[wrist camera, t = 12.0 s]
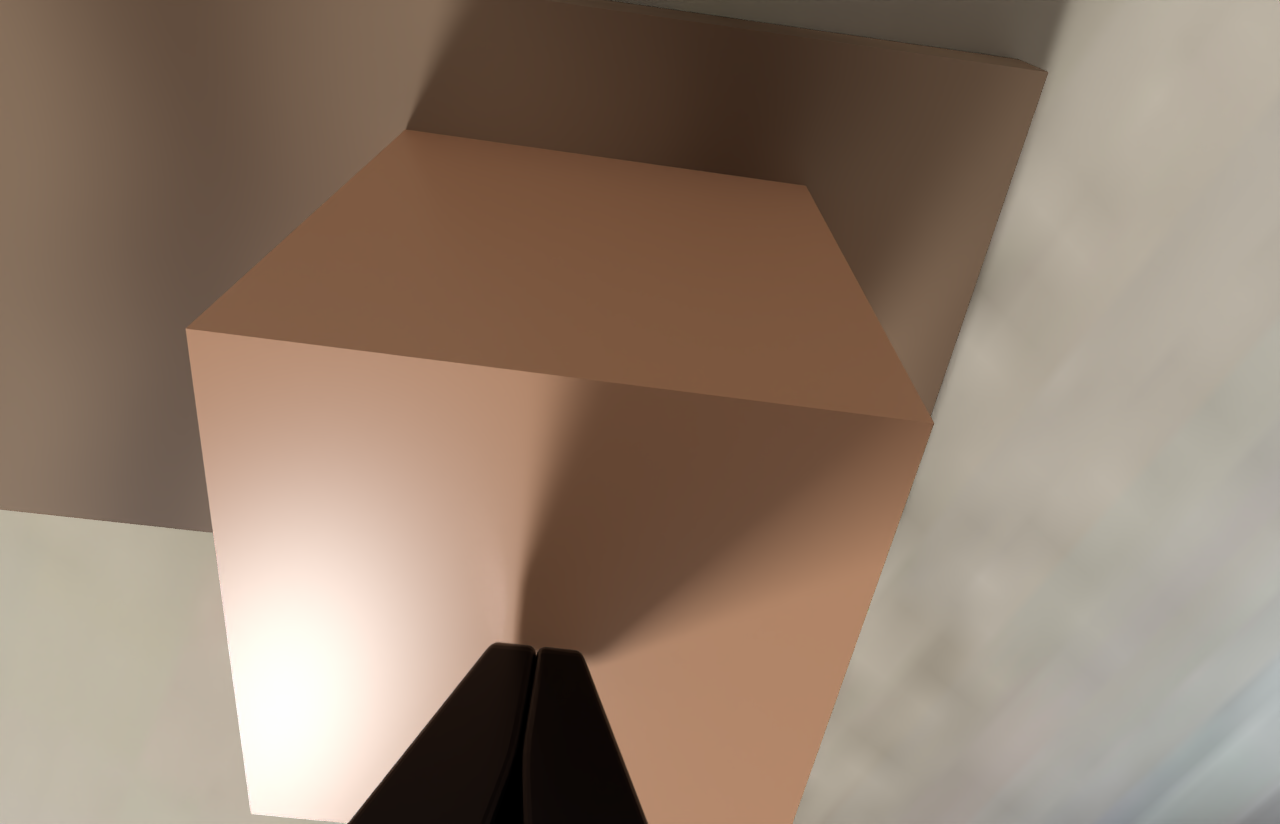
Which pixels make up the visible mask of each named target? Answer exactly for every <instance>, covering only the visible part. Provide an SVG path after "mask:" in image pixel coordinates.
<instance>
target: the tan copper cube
mask: <svg viewBox="0 0 1280 824" xmlns="http://www.w3.org/2000/svg"><path fill="white" fill-rule="evenodd" d="M186 336H187V343H188V351H189V358H190V366H191V373H192V381H193V388H194V395H195V403H196V410H197V418H198V425H199V432H200V440H201V447H202V455H203V462H204V470H205V477H206V484H207V492H208V499H209V507H210V514H211V521H212V529H213V536H214V544H215V551H216V559H217V566H218V573H219V581H220V588H221V596H222V603H223V610H224V618H225V625H226V633H227V640H228V648H229V655H230V662H231V670H232V677H233V685H234V692H235V699H236V707H237V714H238V722H239V729H240V737H241V744H242V751H243V759H244V766H245V774H246V781H247V789H248V796H249V803H250V811H251V814H258V815H269V816H279V817H289V818H300V819H310V820H320V821H331V822H341V823H348V822H349V821H350V820H351V818H352V817H353V816H354V815H355V813H356V812H357V811H358V810H359V808H360V807H361V806H362V805H363V803H364V802H365V801H366V800H367V798H368V797H369V796H370V795H371V793H372V792H373V791H374V790H375V788H376V787H377V786H378V785H379V783H380V782H381V781H382V780H383V778H384V777H385V776H386V774H387V773H388V772H389V771H390V769H391V768H392V767H393V766H394V764H395V763H396V762H397V761H398V759H399V758H400V757H401V756H402V754H403V753H404V752H405V751H406V749H407V748H408V747H409V746H410V744H411V743H412V742H413V741H414V739H415V738H416V737H417V736H418V734H419V733H420V732H421V731H422V729H423V728H424V727H425V726H426V724H427V723H428V722H429V721H430V719H431V718H432V717H433V716H434V714H435V713H436V712H437V710H438V709H439V708H440V707H441V705H442V704H443V703H444V702H445V700H446V699H447V698H448V697H449V695H450V694H451V693H452V692H453V690H454V689H455V688H456V687H457V685H458V684H459V683H460V682H461V680H462V679H463V678H464V677H465V675H466V674H467V673H468V672H469V670H470V669H471V668H472V667H473V665H474V664H475V663H476V662H477V660H478V659H479V658H480V657H481V655H482V654H483V653H484V651H485V650H486V649H487V648H488V647H489V646H490V645H491V644H493V643H496V642H502V643H512V644H522V645H530V646H532V647H533V648H534V649H535V651H536V654H537V652H538V650H539V649H540V648H542V647H551V648H561V649H571V650H577V651H579V652H581V653H582V655H583V656H584V658H585V660H586V663H587V666H588V668H589V671H590V673H591V676H592V679H593V681H594V684H595V686H596V689H597V692H598V694H599V697H600V699H601V702H602V705H603V707H604V710H605V712H606V715H607V718H608V720H609V723H610V725H611V728H612V731H613V733H614V736H615V738H616V741H617V744H618V746H619V749H620V751H621V754H622V757H623V759H624V762H625V764H626V767H627V770H628V772H629V775H630V777H631V780H632V783H633V785H634V788H635V790H636V793H637V796H638V798H639V801H640V803H641V806H642V808H643V811H644V814H645V816H646V819H647V821H648V824H792V823H793V820H794V818H795V815H796V812H797V809H798V806H799V804H800V801H801V798H802V795H803V792H804V789H805V787H806V784H807V781H808V778H809V775H810V772H811V770H812V767H813V764H814V761H815V758H816V755H817V753H818V750H819V747H820V744H821V741H822V739H823V736H824V733H825V730H826V727H827V724H828V722H829V719H830V716H831V713H832V710H833V707H834V705H835V702H836V699H837V696H838V693H839V690H840V688H841V685H842V682H843V679H844V676H845V674H846V671H847V668H848V665H849V662H850V659H851V657H852V654H853V651H854V648H855V645H856V642H857V640H858V637H859V634H860V631H861V628H862V625H863V623H864V620H865V617H866V614H867V611H868V609H869V606H870V603H871V600H872V597H873V594H874V592H875V589H876V586H877V583H878V580H879V577H880V575H881V572H882V569H883V566H884V563H885V560H886V558H887V555H888V552H889V549H890V546H891V544H892V541H893V538H894V535H895V532H896V529H897V527H898V524H899V521H900V518H901V515H902V512H903V510H904V507H905V504H906V501H907V498H908V495H909V493H910V490H911V487H912V484H913V481H914V479H915V476H916V473H917V470H918V467H919V464H920V462H921V459H922V456H923V453H924V450H925V447H926V445H927V442H928V439H929V436H930V433H931V430H932V428H933V425H934V422H933V420H932V418H931V417H930V415H929V413H928V411H927V409H926V407H925V405H924V404H923V402H922V400H921V398H920V396H919V394H918V393H917V391H916V389H915V387H914V385H913V383H912V381H911V380H910V378H909V376H908V374H907V372H906V370H905V368H904V367H903V365H902V363H901V361H900V359H899V357H898V355H897V354H896V352H895V350H894V348H893V346H892V344H891V342H890V341H889V339H888V337H887V335H886V333H885V331H884V330H883V328H882V326H881V324H880V322H879V320H878V318H877V317H876V315H875V313H874V311H873V309H872V307H871V305H870V304H869V302H868V300H867V298H866V296H865V294H864V292H863V291H862V289H861V287H860V285H859V283H858V281H857V279H856V278H855V276H854V274H853V272H852V270H851V268H850V267H849V265H848V263H847V261H846V259H845V257H844V255H843V254H842V252H841V250H840V248H839V246H838V244H837V242H836V241H835V239H834V237H833V235H832V233H831V231H830V229H829V228H828V226H827V224H826V222H825V220H824V218H823V216H822V215H821V213H820V211H819V209H818V207H817V205H816V204H815V202H814V200H813V198H812V196H811V194H810V192H809V191H808V189H807V187H806V186H804V185H797V184H790V183H783V182H776V181H768V180H761V179H754V178H747V177H740V176H733V175H726V174H719V173H712V172H705V171H697V170H690V169H683V168H676V167H669V166H662V165H655V164H648V163H641V162H633V161H626V160H619V159H612V158H605V157H598V156H591V155H584V154H577V153H570V152H562V151H555V150H548V149H541V148H534V147H527V146H520V145H513V144H506V143H498V142H491V141H484V140H477V139H470V138H463V137H456V136H449V135H442V134H435V133H427V132H420V131H413V130H406V129H405V130H404V131H403V132H402V133H401V134H400V135H399V136H398V137H396V138H395V139H394V140H393V141H392V142H391V143H390V144H389V145H388V146H386V147H385V148H384V149H383V150H382V151H381V152H380V153H379V154H378V155H377V156H375V157H374V158H373V159H372V160H371V161H370V162H369V163H368V164H367V165H366V166H364V167H363V168H362V169H361V170H360V171H359V172H358V173H357V174H356V175H354V176H353V177H352V178H351V179H350V180H349V181H348V182H347V183H346V184H345V185H343V186H342V187H341V188H340V189H339V190H338V191H337V192H336V193H335V194H333V195H332V196H331V197H330V198H329V199H328V200H327V201H326V202H325V203H324V204H322V205H321V206H320V207H319V208H318V209H317V210H316V211H315V212H314V213H313V214H311V215H310V216H309V217H308V218H307V219H306V220H305V221H304V222H303V223H301V224H300V225H299V226H298V227H297V228H296V229H295V230H294V231H293V232H292V233H290V234H289V235H288V236H287V237H286V238H285V239H284V240H283V241H282V242H280V243H279V244H278V245H277V246H276V247H275V248H274V249H273V250H272V251H271V252H269V253H268V254H267V255H266V256H265V257H264V258H263V259H262V260H261V261H260V262H258V263H257V264H256V265H255V266H254V267H253V268H252V269H251V270H250V271H248V272H247V273H246V274H245V275H244V276H243V277H242V278H241V279H240V280H239V281H237V282H236V283H235V284H234V285H233V286H232V287H231V288H230V289H229V290H228V291H226V292H225V293H224V294H223V295H222V296H221V297H220V298H219V299H218V300H216V301H215V302H214V303H213V304H212V305H211V306H210V307H209V308H208V309H207V310H205V311H204V312H203V313H202V314H201V315H200V316H199V317H198V318H197V319H195V320H194V321H193V322H192V323H191V324H190V325H189V326H188V327H187V328H186Z"/></svg>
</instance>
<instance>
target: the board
mask: <svg viewBox="0 0 1280 824" xmlns="http://www.w3.org/2000/svg"><path fill="white" fill-rule="evenodd" d="M1047 75H1048V72H1047V71H1044V70H1042V69H1040V68H1037V67H1035V66H1033V65H1030V64H1028V63H1026V62H1023V61H1021V60H1019V59H1013V58H1006V57H999V56H992V55H985V54H978V53H971V52H964V51H957V50H950V49H943V48H936V47H929V46H923V45H916V44H909V43H902V42H895V41H888V40H881V39H874V38H867V37H860V36H853V35H846V34H839V33H832V32H825V31H818V30H811V29H804V28H797V27H790V26H783V25H776V24H769V23H762V22H755V21H748V20H741V19H734V18H727V17H720V16H713V15H706V14H700V13H693V12H686V11H679V10H672V9H665V8H658V7H651V6H644V5H637V4H630V3H623V2H616V1H609V0H0V509H1V510H10V511H19V512H28V513H37V514H47V515H56V516H65V517H74V518H83V519H93V520H102V521H111V522H120V523H129V524H138V525H148V526H157V527H166V528H175V529H184V530H193V531H203V532H212V533H213V529H212V521H211V514H210V507H209V499H208V492H207V484H206V477H205V470H204V462H203V455H202V447H201V440H200V432H199V425H198V418H197V410H196V403H195V395H194V388H193V381H192V373H191V366H190V358H189V351H188V343H187V336H186V328H187V327H188V326H189V325H190V324H191V323H192V322H193V321H194V320H195V319H197V318H198V317H199V316H200V315H201V314H202V313H203V312H204V311H205V310H207V309H208V308H209V307H210V306H211V305H212V304H213V303H214V302H215V301H216V300H218V299H219V298H220V297H221V296H222V295H223V294H224V293H225V292H226V291H228V290H229V289H230V288H231V287H232V286H233V285H234V284H235V283H236V282H237V281H239V280H240V279H241V278H242V277H243V276H244V275H245V274H246V273H247V272H248V271H250V270H251V269H252V268H253V267H254V266H255V265H256V264H257V263H258V262H260V261H261V260H262V259H263V258H264V257H265V256H266V255H267V254H268V253H269V252H271V251H272V250H273V249H274V248H275V247H276V246H277V245H278V244H279V243H280V242H282V241H283V240H284V239H285V238H286V237H287V236H288V235H289V234H290V233H292V232H293V231H294V230H295V229H296V228H297V227H298V226H299V225H300V224H301V223H303V222H304V221H305V220H306V219H307V218H308V217H309V216H310V215H311V214H313V213H314V212H315V211H316V210H317V209H318V208H319V207H320V206H321V205H322V204H324V203H325V202H326V201H327V200H328V199H329V198H330V197H331V196H332V195H333V194H335V193H336V192H337V191H338V190H339V189H340V188H341V187H342V186H343V185H345V184H346V183H347V182H348V181H349V180H350V179H351V178H352V177H353V176H354V175H356V174H357V173H358V172H359V171H360V170H361V169H362V168H363V167H364V166H366V165H367V164H368V163H369V162H370V161H371V160H372V159H373V158H374V157H375V156H377V155H378V154H379V153H380V152H381V151H382V150H383V149H384V148H385V147H386V146H388V145H389V144H390V143H391V142H392V141H393V140H394V139H395V138H396V137H398V136H399V135H400V134H401V133H402V132H403V131H404V130H405V129H406V130H413V131H420V132H427V133H435V134H442V135H449V136H456V137H463V138H470V139H477V140H484V141H491V142H498V143H506V144H513V145H520V146H527V147H534V148H541V149H548V150H555V151H562V152H570V153H577V154H584V155H591V156H598V157H605V158H612V159H619V160H626V161H633V162H641V163H648V164H655V165H662V166H669V167H676V168H683V169H690V170H697V171H705V172H712V173H719V174H726V175H733V176H740V177H747V178H754V179H761V180H768V181H776V182H783V183H790V184H797V185H804V186H806V187H807V189H808V191H809V192H810V194H811V196H812V198H813V200H814V202H815V204H816V205H817V207H818V209H819V211H820V213H821V215H822V216H823V218H824V220H825V222H826V224H827V226H828V228H829V229H830V231H831V233H832V235H833V237H834V239H835V241H836V242H837V244H838V246H839V248H840V250H841V252H842V254H843V255H844V257H845V259H846V261H847V263H848V265H849V267H850V268H851V270H852V272H853V274H854V276H855V278H856V279H857V281H858V283H859V285H860V287H861V289H862V291H863V292H864V294H865V296H866V298H867V300H868V302H869V304H870V305H871V307H872V309H873V311H874V313H875V315H876V317H877V318H878V320H879V322H880V324H881V326H882V328H883V330H884V331H885V333H886V335H887V337H888V339H889V341H890V342H891V344H892V346H893V348H894V350H895V352H896V354H897V355H898V357H899V359H900V361H901V363H902V365H903V367H904V368H905V370H906V372H907V374H908V376H909V378H910V380H911V381H912V383H913V385H914V387H915V389H916V391H917V393H918V394H919V396H920V398H921V400H922V402H923V404H924V405H925V407H926V409H927V411H928V413H929V415H930V416H931V414H932V411H933V408H934V405H935V402H936V399H937V396H938V393H939V390H940V387H941V384H942V381H943V378H944V376H945V373H946V370H947V367H948V364H949V361H950V358H951V355H952V352H953V349H954V346H955V343H956V340H957V338H958V335H959V332H960V329H961V326H962V323H963V320H964V317H965V314H966V311H967V308H968V305H969V302H970V300H971V297H972V294H973V291H974V288H975V285H976V282H977V279H978V276H979V273H980V270H981V267H982V264H983V262H984V259H985V256H986V253H987V250H988V247H989V244H990V241H991V238H992V235H993V232H994V229H995V226H996V224H997V221H998V218H999V215H1000V212H1001V209H1002V206H1003V203H1004V200H1005V197H1006V194H1007V191H1008V188H1009V186H1010V183H1011V180H1012V177H1013V174H1014V171H1015V168H1016V165H1017V162H1018V159H1019V156H1020V153H1021V151H1022V148H1023V145H1024V142H1025V139H1026V136H1027V133H1028V130H1029V127H1030V124H1031V121H1032V118H1033V115H1034V113H1035V110H1036V107H1037V104H1038V101H1039V98H1040V95H1041V92H1042V89H1043V86H1044V83H1045V80H1046V77H1047Z"/></svg>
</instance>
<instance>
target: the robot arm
mask: <svg viewBox="0 0 1280 824" xmlns="http://www.w3.org/2000/svg"><path fill="white" fill-rule="evenodd" d="M347 824H648V821H647V819H646V816H645V814H644V811H643V808H642V806H641V803H640V801H639V798H638V796H637V793H636V790H635V788H634V785H633V783H632V780H631V777H630V775H629V772H628V770H627V767H626V764H625V762H624V759H623V757H622V754H621V751H620V749H619V746H618V744H617V741H616V738H615V736H614V733H613V731H612V728H611V725H610V723H609V720H608V718H607V715H606V712H605V710H604V707H603V705H602V702H601V699H600V697H599V694H598V692H597V689H596V686H595V684H594V681H593V679H592V676H591V673H590V671H589V668H588V666H587V663H586V660H585V658H584V656H583V655H582V653H581V652H579V651H577V650H571V649H561V648H551V647H542V648H540V649H539V650H538V652H537V654H536V651H535V649H534V648H533V647H532V646H530V645H522V644H512V643H502V642H496V643H493V644H491V645H490V646H489V647H488V648H487V649H486V650H485V651H484V653H483V654H482V655H481V657H480V658H479V659H478V660H477V662H476V663H475V664H474V665H473V667H472V668H471V669H470V670H469V672H468V673H467V674H466V675H465V677H464V678H463V679H462V680H461V682H460V683H459V684H458V685H457V687H456V688H455V689H454V690H453V692H452V693H451V694H450V695H449V697H448V698H447V699H446V700H445V702H444V703H443V704H442V705H441V707H440V708H439V709H438V710H437V712H436V713H435V714H434V716H433V717H432V718H431V719H430V721H429V722H428V723H427V724H426V726H425V727H424V728H423V729H422V731H421V732H420V733H419V734H418V736H417V737H416V738H415V739H414V741H413V742H412V743H411V744H410V746H409V747H408V748H407V749H406V751H405V752H404V753H403V754H402V756H401V757H400V758H399V759H398V761H397V762H396V763H395V764H394V766H393V767H392V768H391V769H390V771H389V772H388V773H387V774H386V776H385V777H384V778H383V780H382V781H381V782H380V783H379V785H378V786H377V787H376V788H375V790H374V791H373V792H372V793H371V795H370V796H369V797H368V798H367V800H366V801H365V802H364V803H363V805H362V806H361V807H360V808H359V810H358V811H357V812H356V813H355V815H354V816H353V817H352V818H351V820H350V821H349V822H348V823H347Z"/></svg>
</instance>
